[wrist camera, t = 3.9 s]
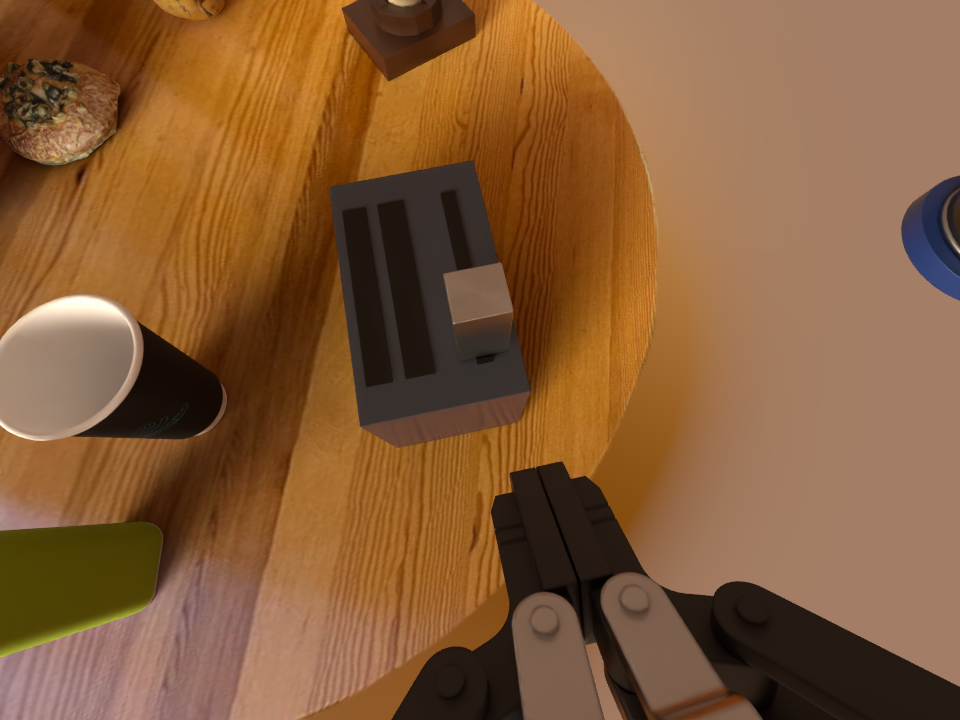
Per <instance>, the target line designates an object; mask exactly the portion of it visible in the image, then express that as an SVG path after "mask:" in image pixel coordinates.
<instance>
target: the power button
mask: <svg viewBox="0 0 960 720" xmlns="http://www.w3.org/2000/svg"><path fill="white" fill-rule="evenodd" d="M387 1H388V3H389V4H390V5H393V6H396V7H411V6H413V5H415V4H417V3H419V2H421V1H422V0H387Z"/></svg>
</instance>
